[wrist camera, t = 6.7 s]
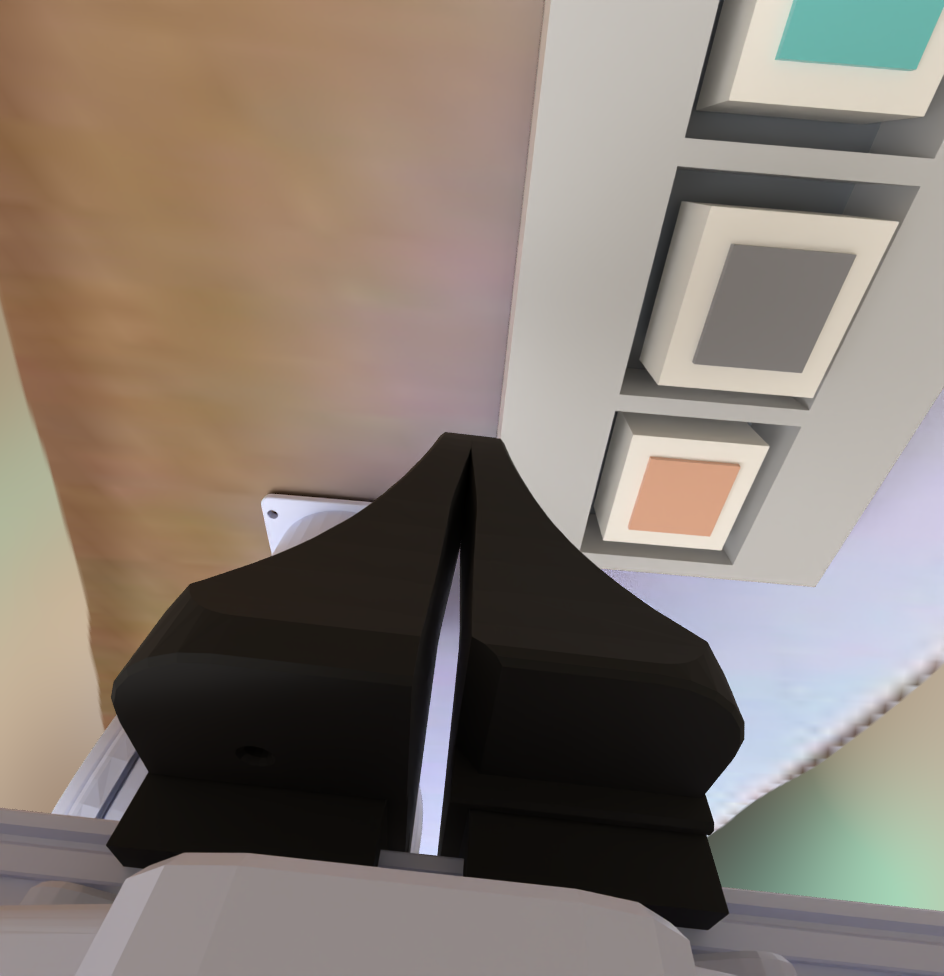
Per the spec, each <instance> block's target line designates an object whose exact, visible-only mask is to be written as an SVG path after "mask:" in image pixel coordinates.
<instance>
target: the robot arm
mask: <svg viewBox="0 0 944 976" xmlns="http://www.w3.org/2000/svg"><path fill="white" fill-rule="evenodd" d="M261 506H262V511H263V516H264V520H265V525H266V530H267V535H268V539H269V544H270V549H271V554H272V556H271V557H268V558H266V559H263V560H260V561H258V562H255V563H253V564H250V565H247V566H244V567H241V568H238V569H235V570H232V571H229V572H226V573H223V574H220V575H217V576H214V577H211V578H208V579H205V580H202V581H198V582H195V583H191V584H190V585H189V586H188V587H187V588H186V589H185V590H184V591H183V593H182V594H181V595H180V596H179V597H178V598H177V599H176V600H175V602H174V603H173V604H172V605H171V606H170V607H169V608H168V609H167V611H166V612H165V613H164V615H163V616H162V617H161V619H160V620H159V621H158V623H157V624H156V625H155V627H154V628H153V629H152V631H151V632H150V633H149V635H148V636H147V637H146V639H145V640H144V641H143V643H142V644H141V645H140V647H139V648H138V649H137V651H136V652H135V653H134V655H133V656H132V658H131V659H130V660H129V662H128V663H127V664H126V666H125V667H124V668H123V670H122V671H121V672H120V674H119V675H118V676H117V678H116V679H115V680H114V683H113V689H112V695H111V699H112V702H113V705H114V708H115V711H116V714H117V715H116V716H115V718H114V719H113V720H112V722H111V723H110V724H109V726H108V727H107V729H106V730H105V731H104V733H103V734H102V736H101V737H100V738H99V740H98V741H97V743H96V744H95V745H94V747H93V748H92V750H91V751H90V753H89V754H88V756H87V757H86V759H85V760H84V762H83V763H82V765H81V766H80V768H79V769H78V771H77V772H76V774H75V776H74V777H73V779H72V780H71V782H70V784H69V785H68V786H67V788H66V790H65V791H64V793H63V795H62V796H61V798H60V799H59V801H58V803H57V804H56V806H55V808H54V809H53V811H52V813H42V812H33V811H24V810H15V809H6V808H0V976H944V911H936V910H927V909H918V908H908V907H899V906H890V905H880V904H872V903H863V902H853V901H844V900H835V899H826V898H817V897H808V896H799V895H790V894H780V893H772V892H762V891H753V890H744V889H734V888H725V887H721V884H720V880H719V876H718V873H717V870H716V866H715V863H714V860H713V856H712V853H711V849H710V846H709V843H708V839H707V836H706V835H711V834H712V832H713V831H714V821H713V818H712V814H711V811H710V808H709V805H708V802H707V798H706V795H705V793H706V792H707V791H708V790H709V788H710V787H711V786H712V785H713V783H714V782H715V781H716V780H717V778H718V777H719V776H720V775H721V774H722V772H723V771H724V770H725V769H726V767H727V766H728V765H729V764H730V762H731V761H732V760H733V758H734V757H735V755H736V754H737V752H738V750H739V748H740V746H741V744H742V742H743V740H744V720H743V718H742V715H741V713H740V711H739V708H738V706H737V703H736V701H735V699H734V696H733V694H732V691H731V689H730V686H729V684H728V682H727V680H726V677H725V675H724V673H723V671H722V669H721V667H720V665H719V663H718V662H717V660H716V658H715V656H714V654H713V652H712V650H711V648H710V646H709V644H708V642H707V641H705V640H703V639H702V638H700V637H698V636H697V635H695V634H694V633H692V632H690V631H689V630H687V629H685V628H684V627H682V626H681V625H679V624H677V623H676V622H674V621H672V620H671V619H669V618H668V617H666V616H664V615H663V614H661V613H659V612H658V611H656V610H655V609H653V608H652V607H650V606H649V605H647V604H646V603H644V602H643V601H642V600H640V599H639V598H637V597H636V596H635V595H633V594H632V593H630V592H629V591H628V590H626V589H625V588H624V587H622V586H621V585H619V584H618V583H617V582H616V581H614V580H613V579H612V578H611V577H609V576H608V575H607V574H606V573H604V572H603V571H602V570H601V569H600V568H599V567H597V566H596V565H595V564H594V563H593V562H592V561H591V560H589V559H588V558H587V557H586V556H585V555H584V554H583V553H582V552H580V551H579V550H578V549H577V548H576V547H575V546H574V545H573V544H572V543H571V542H570V541H569V540H568V539H567V538H566V536H565V535H564V534H563V533H562V532H561V531H560V530H559V529H558V528H557V527H556V526H555V525H554V523H553V522H552V521H551V520H550V518H549V517H548V516H547V515H546V513H545V512H544V511H543V509H542V508H541V507H540V505H539V504H538V502H537V501H536V500H535V498H534V497H533V495H532V494H531V492H530V491H529V489H528V487H527V486H526V484H525V483H524V481H523V479H522V478H521V476H520V474H519V473H518V471H517V469H516V467H515V465H514V463H513V461H512V460H511V457H510V455H509V453H508V451H507V449H506V446H505V444H504V442H503V441H502V440H501V439H500V438H492V437H483V436H474V435H466V434H457V433H448V432H445V433H444V434H442V435H441V436H440V437H439V438H438V440H437V441H436V442H435V443H434V445H433V446H432V447H431V448H430V450H429V451H428V452H427V453H426V454H425V455H424V456H423V457H422V458H421V460H420V461H419V462H418V463H417V464H416V465H415V466H414V467H413V468H412V469H411V470H410V471H409V472H408V473H407V474H406V475H405V476H403V477H402V478H401V479H400V480H399V481H398V482H397V483H395V484H394V485H393V486H392V487H391V488H390V489H388V490H387V491H386V492H385V493H384V494H383V495H381V496H380V497H379V498H377V499H376V500H375V501H373V502H364V501H352V500H340V499H329V498H317V497H305V496H294V495H282V494H267V495H266V496H265V497H264V498H263V500H262V501H261ZM271 510H273V511H275V512H277V514H275V513H273V512H272V511H271ZM460 543H461V544H460ZM459 549H460V636H459V653H458V663H457V672H456V682H455V692H454V702H453V711H452V721H451V731H450V741H449V750H448V760H447V769H446V779H445V788H444V798H443V807H442V817H441V826H440V836H439V845H438V855H437V856H435V855H425V854H419V848H420V842H421V834H422V822H423V803H422V795H421V790H420V786H419V782H420V774H421V766H422V759H423V751H424V743H425V736H426V728H427V721H428V713H429V706H430V698H431V691H432V683H433V676H434V668H435V661H436V654H437V646H438V641H439V636H440V630H441V626H442V621H443V617H444V613H445V609H446V604H447V600H448V596H449V592H450V588H451V583H452V579H453V575H454V571H455V566H456V562H457V558H458V553H459Z"/></svg>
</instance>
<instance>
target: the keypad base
mask: <svg viewBox="0 0 944 976" xmlns="http://www.w3.org/2000/svg"><path fill="white" fill-rule="evenodd" d="M723 2H724V0H544V7H543V16H542V26H541V35H540V44H539V53H538V62H537V71H536V80H535V89H534V99H533V108H532V117H531V126H530V135H529V144H528V153H527V162H526V172H525V181H524V190H523V199H522V208H521V217H520V226H519V235H518V245H517V254H516V263H515V272H514V281H513V290H512V299H511V308H510V318H509V327H508V336H507V345H506V354H505V363H504V372H503V381H502V391H501V400H500V409H499V418H498V427H497V436H496V438H500V439H501V440H502V441H503V442H504V444H505V446H506V449H507V451H508V453H509V455H510V457H511V460H512V461H513V463H514V465H515V467H516V469H517V471H518V473H519V474H520V476H521V478H522V479H523V481H524V483H525V484H526V486H527V487H528V489H529V491H530V492H531V494H532V495H533V497H534V498H535V500H536V501H537V502H538V504H539V505H540V507H541V508H542V509H543V511H544V512H545V513H546V515H547V516H548V517H549V518H550V520H551V521H552V522H553V523H554V525H555V526H556V527H557V528H558V529H559V530H560V531H561V532H562V533H563V534H564V535H565V536H566V538H567V539H568V540H569V541H570V542H571V543H572V544H573V545H574V546H575V547H576V548H577V549H578V550H579V551H580V552H582V553H583V554H584V555H585V556H586V557H587V558H588V559H589V560H591V561H592V562H593V563H594V564H595V565H596V566H597V567H599V568H600V569H611V570H623V571H635V572H646V573H658V574H669V575H681V576H693V577H704V578H716V579H727V580H739V581H751V582H762V583H774V584H786V585H797V586H809V587H816V585H817V583H818V582H819V580H820V579H821V577H822V576H823V574H824V573H825V571H826V569H827V568H828V566H829V565H830V563H831V562H832V560H833V559H834V557H835V555H836V554H837V552H838V551H839V549H840V548H841V546H842V545H843V543H844V541H845V540H846V538H847V537H848V535H849V534H850V532H851V531H852V529H853V528H854V526H855V524H856V523H857V521H858V520H859V518H860V517H861V515H862V514H863V512H864V510H865V509H866V507H867V506H868V504H869V503H870V501H871V500H872V498H873V496H874V495H875V493H876V492H877V490H878V489H879V487H880V486H881V484H882V482H883V481H884V479H885V478H886V476H887V475H888V473H889V472H890V470H891V468H892V467H893V465H894V464H895V462H896V461H897V459H898V458H899V456H900V455H901V453H902V451H903V450H904V448H905V447H906V445H907V444H908V442H909V441H910V439H911V437H912V436H913V434H914V433H915V431H916V430H917V428H918V427H919V425H920V423H921V422H922V420H923V419H924V417H925V416H926V414H927V413H928V411H929V409H930V408H931V406H932V405H933V403H934V402H935V400H936V399H937V397H938V396H939V394H940V392H941V391H942V389H943V388H944V75H943V77H942V79H941V81H940V83H939V86H938V88H937V90H936V92H935V94H934V96H933V98H932V101H931V103H930V105H929V107H928V109H927V111H926V113H925V116H924V117H917V118H909V119H901V120H893V121H885V122H877V123H869V124H853V123H841V122H829V121H817V120H805V119H793V118H781V117H769V116H757V115H745V114H733V113H721V112H709V111H697V110H696V107H697V103H698V99H699V95H700V91H701V87H702V83H703V79H704V75H705V72H706V68H707V64H708V60H709V56H710V52H711V48H712V44H713V41H714V37H715V33H716V29H717V25H718V21H719V17H720V13H721V9H722V6H723ZM682 201H687V202H699V203H711V204H723V205H735V206H747V207H759V208H771V209H783V210H795V211H807V212H819V213H830V214H842V215H850V216H858V217H866V218H873V219H881V220H889V221H896V222H899V224H898V226H897V228H896V230H895V232H894V234H893V236H892V238H891V240H890V242H889V244H888V246H887V248H886V250H885V252H884V254H883V256H882V258H881V260H880V262H879V264H878V266H877V268H876V270H875V273H874V275H873V277H872V279H871V281H870V283H869V285H868V287H867V289H866V291H865V293H864V295H863V297H862V299H861V301H860V303H859V305H858V307H857V309H856V311H855V313H854V315H853V317H852V319H851V321H850V323H849V325H848V327H847V329H846V331H845V334H844V336H843V338H842V340H841V342H840V344H839V346H838V348H837V350H836V352H835V354H834V356H833V358H832V360H831V362H830V364H829V366H828V368H827V370H826V372H825V374H824V376H823V378H822V380H821V382H820V384H819V386H818V388H817V390H816V392H815V394H814V397H813V398H806V397H794V396H783V395H771V394H759V393H747V392H736V391H724V390H712V389H700V388H688V387H677V386H665V385H658V384H657V383H656V382H655V380H654V379H653V377H652V376H651V375H650V373H649V372H648V371H647V369H646V368H645V367H644V365H643V364H642V362H641V361H640V360H639V359H640V355H641V352H642V348H643V344H644V340H645V337H646V333H647V329H648V325H649V322H650V318H651V314H652V310H653V307H654V303H655V299H656V295H657V292H658V288H659V284H660V280H661V277H662V273H663V269H664V265H665V262H666V258H667V254H668V250H669V247H670V243H671V239H672V235H673V232H674V228H675V224H676V220H677V217H678V213H679V209H680V205H681V202H682ZM618 411H623V412H635V413H647V414H658V415H670V416H682V417H694V418H705V419H717V420H729V421H741V422H747V423H748V425H749V426H750V427H751V428H752V429H753V430H754V431H755V432H756V433H757V434H758V435H759V436H760V437H761V438H762V439H763V440H764V441H765V442H766V443H767V444H768V445H769V446H770V447H769V449H768V451H767V454H766V456H765V458H764V460H763V462H762V464H761V466H760V469H759V471H758V473H757V475H756V477H755V479H754V481H753V484H752V486H751V488H750V490H749V492H748V494H747V496H746V499H745V501H744V503H743V505H742V507H741V509H740V511H739V514H738V516H737V518H736V520H735V522H734V524H733V526H732V529H731V531H730V533H729V535H728V537H727V539H726V541H725V543H724V546H723V548H722V550H710V549H698V548H686V547H675V546H663V545H651V544H640V543H628V542H616V541H605V540H603V538H602V535H601V531H600V527H599V524H598V520H597V516H596V513H595V509H594V502H595V499H596V495H597V491H598V487H599V483H600V479H601V475H602V471H603V468H604V464H605V460H606V456H607V452H608V448H609V444H610V440H611V436H612V433H613V429H614V425H615V421H616V417H617V413H618Z"/></svg>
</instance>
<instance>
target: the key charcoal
mask: <svg viewBox="0 0 944 976" xmlns="http://www.w3.org/2000/svg"><path fill="white" fill-rule="evenodd" d="M898 224H899V222H896V221H889V220H881V219H873V218H866V217H858V216H850V215H842V214H830V213H819V212H807V211H795V210H783V209H771V208H759V207H747V206H735V205H723V204H711V203H699V202H687V201H682V202H681V205H680V209H679V213H678V217H677V220H676V224H675V228H674V232H673V235H672V239H671V243H670V247H669V250H668V254H667V258H666V262H665V265H664V269H663V273H662V277H661V280H660V284H659V288H658V292H657V295H656V299H655V303H654V307H653V310H652V314H651V318H650V322H649V325H648V329H647V333H646V337H645V340H644V344H643V348H642V352H641V355H640V359H639V360H640V361H641V362H642V364H643V365H644V367H645V368H646V369H647V371H648V372H649V373H650V375H651V376H652V377H653V379H654V380H655V382H656V383H657V384H658V385H665V386H677V387H688V388H700V389H712V390H724V391H736V392H747V393H759V394H771V395H783V396H794V397H806V398H813V397H814V394H815V392H816V390H817V388H818V386H819V384H820V382H821V380H822V378H823V376H824V374H825V372H826V370H827V368H828V366H829V364H830V362H831V360H832V358H833V356H834V354H835V352H836V350H837V348H838V346H839V344H840V342H841V340H842V338H843V336H844V334H845V331H846V329H847V327H848V325H849V323H850V321H851V319H852V317H853V315H854V313H855V311H856V309H857V307H858V305H859V303H860V301H861V299H862V297H863V295H864V293H865V291H866V289H867V287H868V285H869V283H870V281H871V279H872V277H873V275H874V273H875V270H876V268H877V266H878V264H879V262H880V260H881V258H882V256H883V254H884V252H885V250H886V248H887V246H888V244H889V242H890V240H891V238H892V236H893V234H894V232H895V230H896V228H897V226H898Z"/></svg>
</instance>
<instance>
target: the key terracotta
mask: <svg viewBox="0 0 944 976" xmlns="http://www.w3.org/2000/svg"><path fill="white" fill-rule="evenodd" d="M769 447H770V446H769V445H768V444H767V443H766V442H765V441H764V440H763V439H762V438H761V437H760V436H759V435H758V434H757V433H756V432H755V431H754V430H753V429H752V428H751V427H750V426H749V425H748V423H747V422H741V421H729V420H717V419H705V418H694V417H682V416H670V415H658V414H647V413H635V412H623V411H618V413H617V417H616V421H615V425H614V429H613V433H612V436H611V440H610V444H609V448H608V452H607V456H606V460H605V464H604V468H603V471H602V475H601V479H600V483H599V487H598V491H597V495H596V499H595V502H594V509H595V513H596V516H597V520H598V524H599V527H600V531H601V535H602V538H603V540H605V541H616V542H628V543H640V544H651V545H663V546H675V547H686V548H698V549H710V550H722V548H723V546H724V543H725V541H726V539H727V537H728V535H729V533H730V531H731V529H732V526H733V524H734V522H735V520H736V518H737V516H738V514H739V511H740V509H741V507H742V505H743V503H744V501H745V499H746V496H747V494H748V492H749V490H750V488H751V486H752V484H753V481H754V479H755V477H756V475H757V473H758V471H759V469H760V466H761V464H762V462H763V460H764V458H765V456H766V454H767V451H768V449H769Z"/></svg>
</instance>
